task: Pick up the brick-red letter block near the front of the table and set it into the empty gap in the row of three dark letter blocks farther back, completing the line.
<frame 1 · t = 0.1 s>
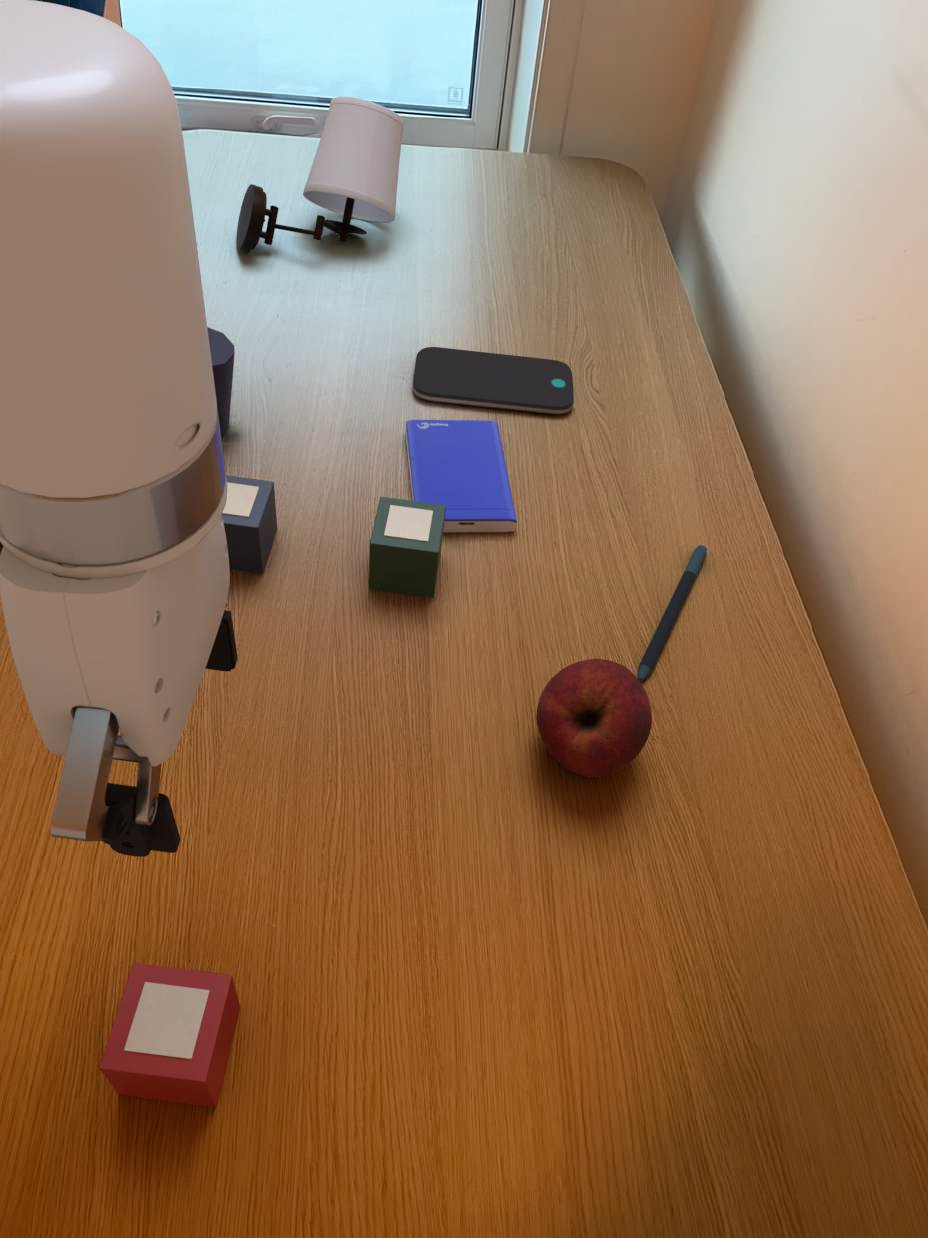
hand: (176, 746, 43), 15 cm above the table, tool pointing down, fingers open, 9 cm apart
speaker: (198, 423, 81), on the table
smartphone: (493, 385, 89), on the table
slate block: (238, 546, 72), on the table
apple: (581, 748, 64), on the table
walnut block: (154, 535, 72), on the table
green block: (405, 569, 72), on the table
light fixture: (321, 230, 104), on the table
pen: (671, 616, 73), on the table
hard drive: (457, 482, 80), on the table
red block: (181, 1049, 49), on the table
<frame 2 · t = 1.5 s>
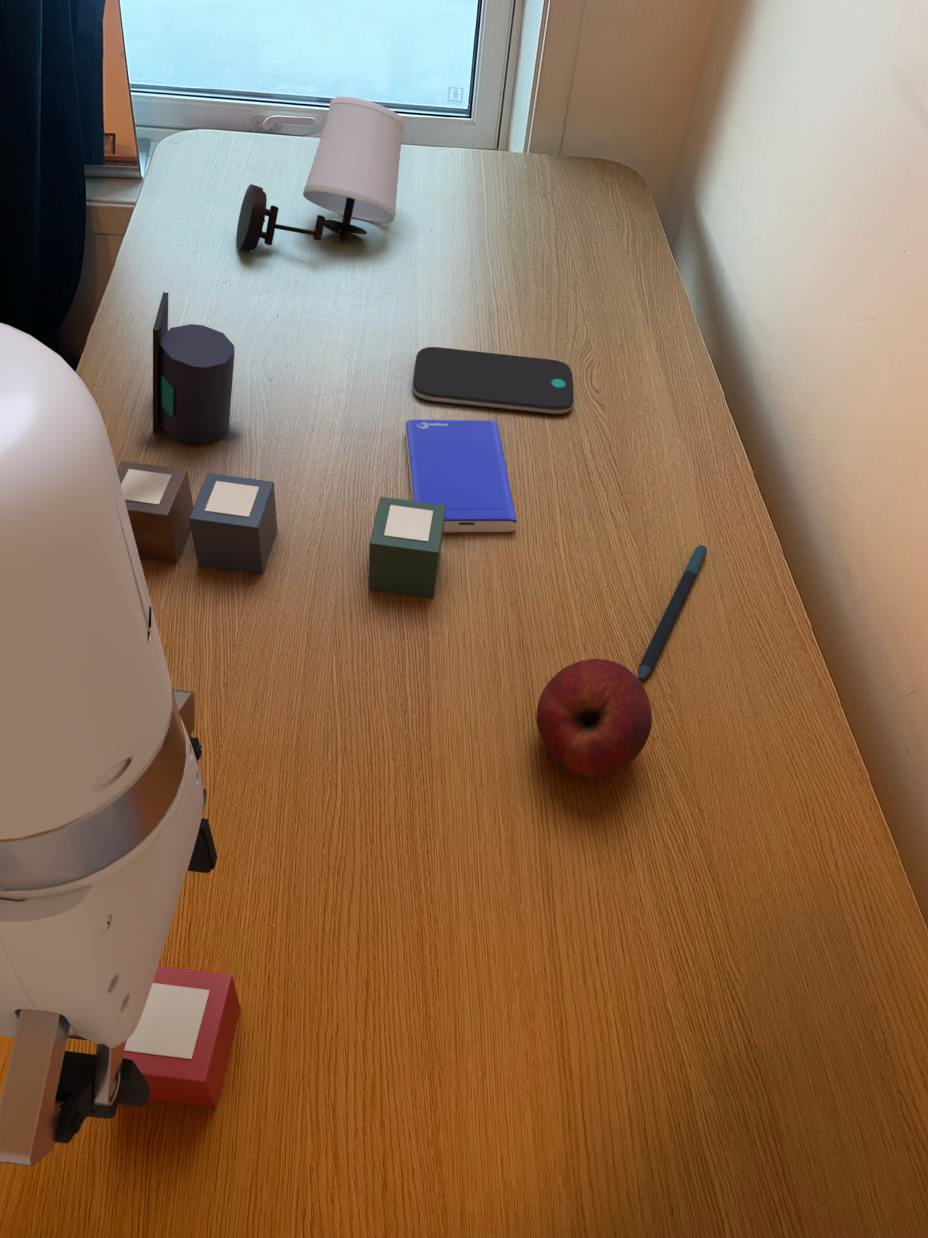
hand: (148, 969, 39), 13 cm above the table, tool pointing down, fingers open, 9 cm apart
nothing on the table moved.
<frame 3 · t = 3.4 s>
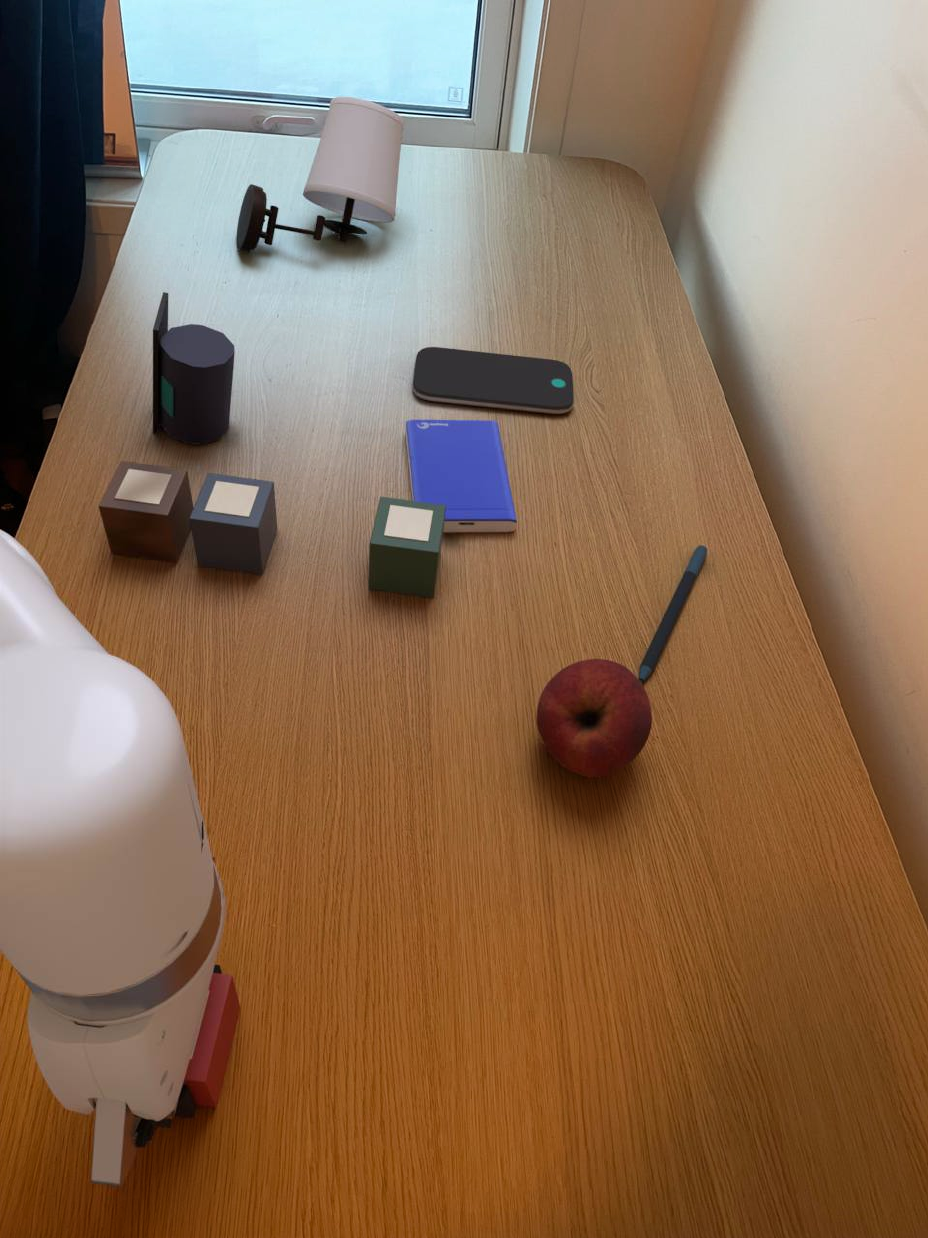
hand: (180, 1047, 49), 0 cm above the table, tool pointing down, fingers closed on red block, 5 cm apart
red block: (181, 1049, 49), on the table, touching gripper
everything else where it was.
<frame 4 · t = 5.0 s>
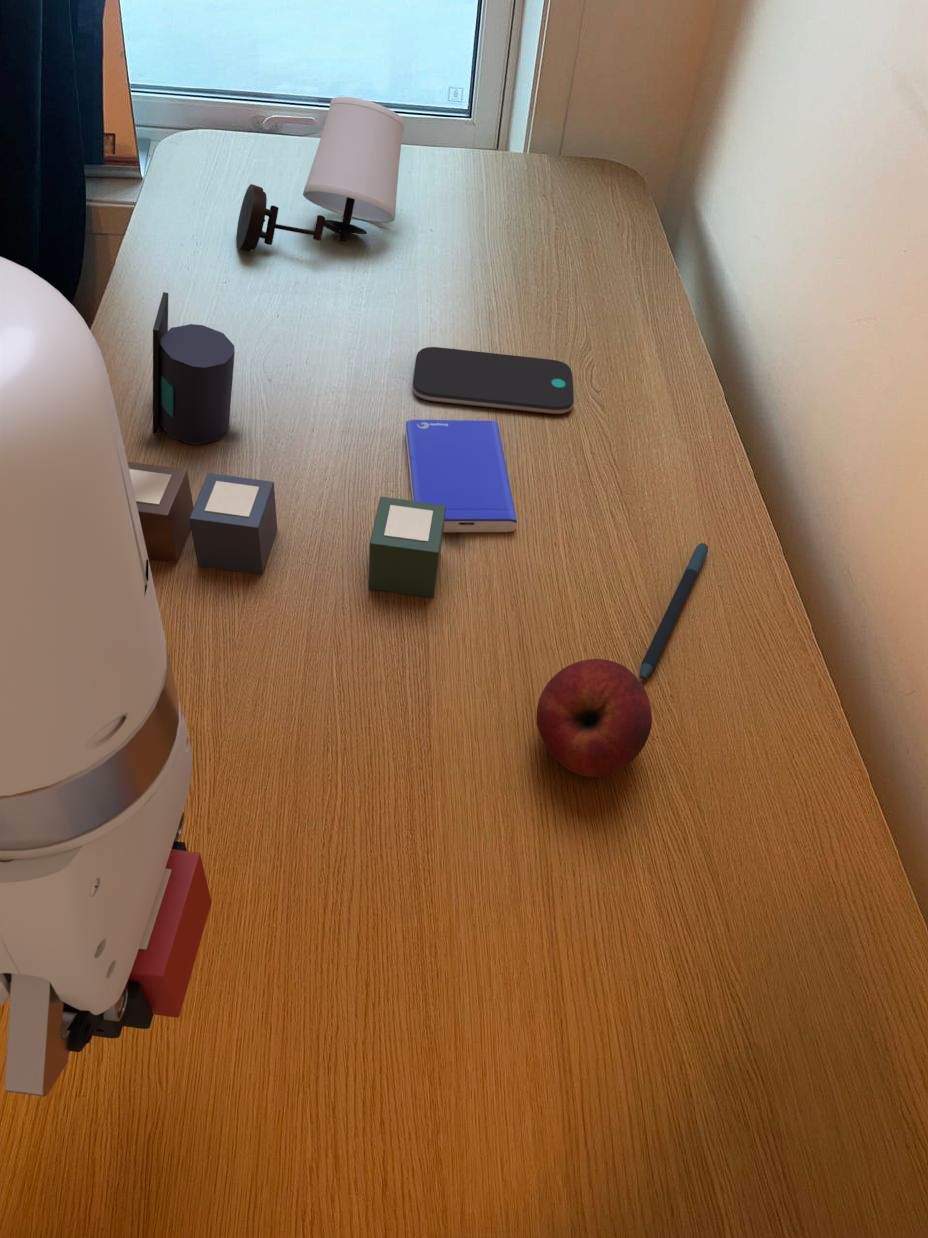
hand: (135, 945, 40), 13 cm above the table, tool pointing down, fingers closed on red block, 5 cm apart
red block: (137, 949, 40), point 13 cm above the table, touching gripper
everything else where it was.
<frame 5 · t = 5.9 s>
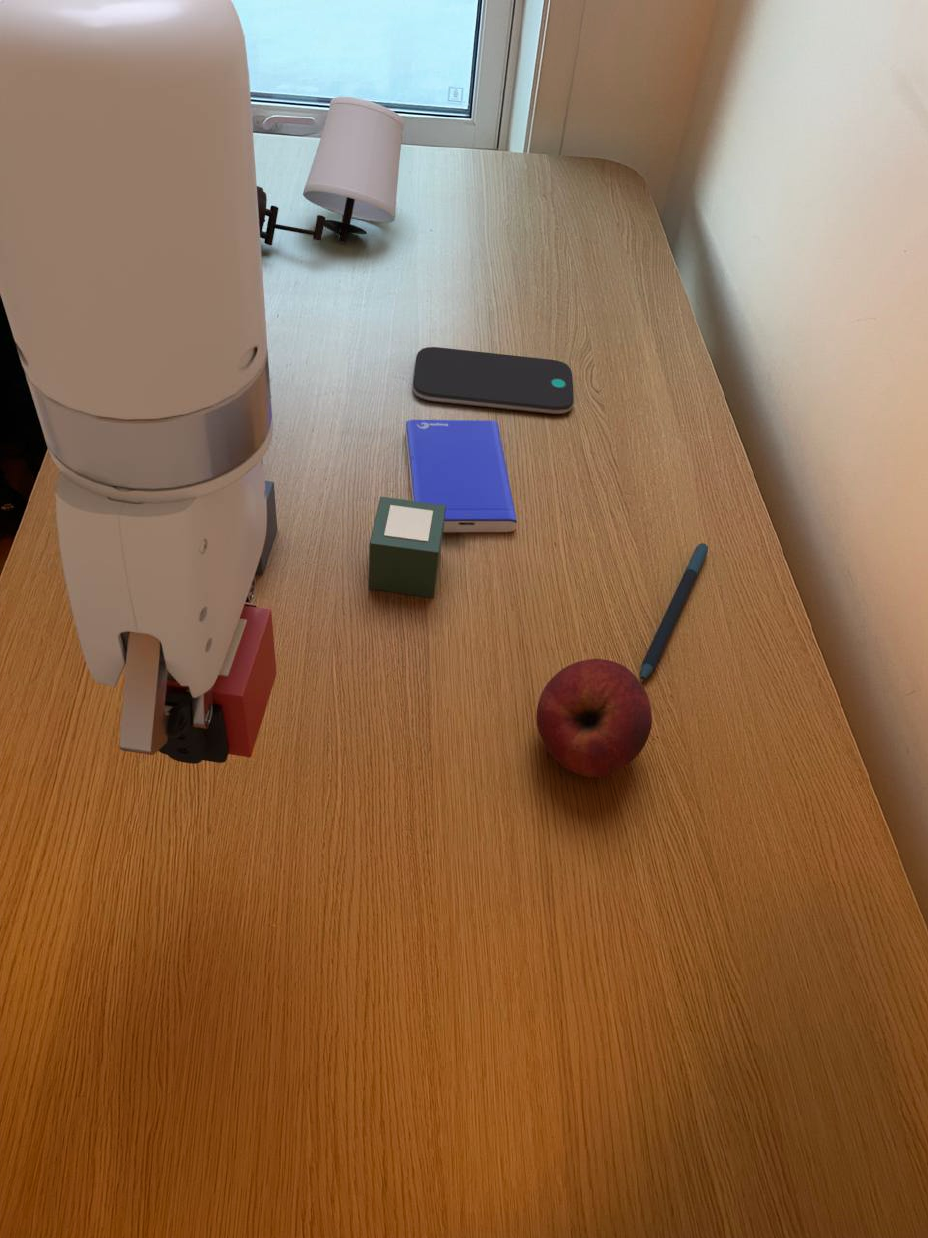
hand: (212, 700, 45), 15 cm above the table, tool pointing down, fingers closed on red block, 5 cm apart
red block: (213, 706, 45), point 15 cm above the table, touching gripper
everything else where it was.
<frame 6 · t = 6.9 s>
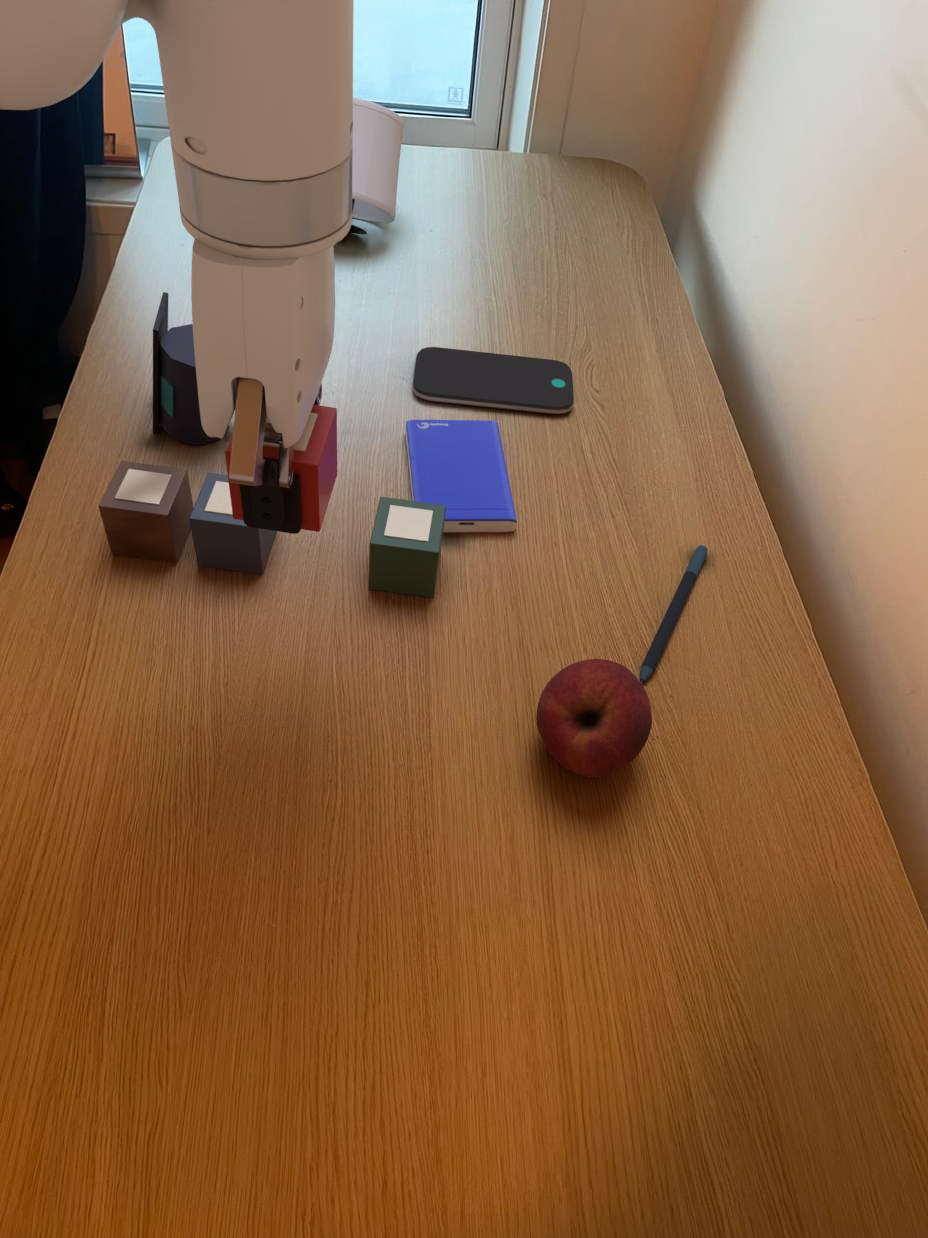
hand: (285, 490, 55), 15 cm above the table, tool pointing down, fingers closed on red block, 5 cm apart
red block: (286, 496, 55), point 15 cm above the table, touching gripper
everything else where it was.
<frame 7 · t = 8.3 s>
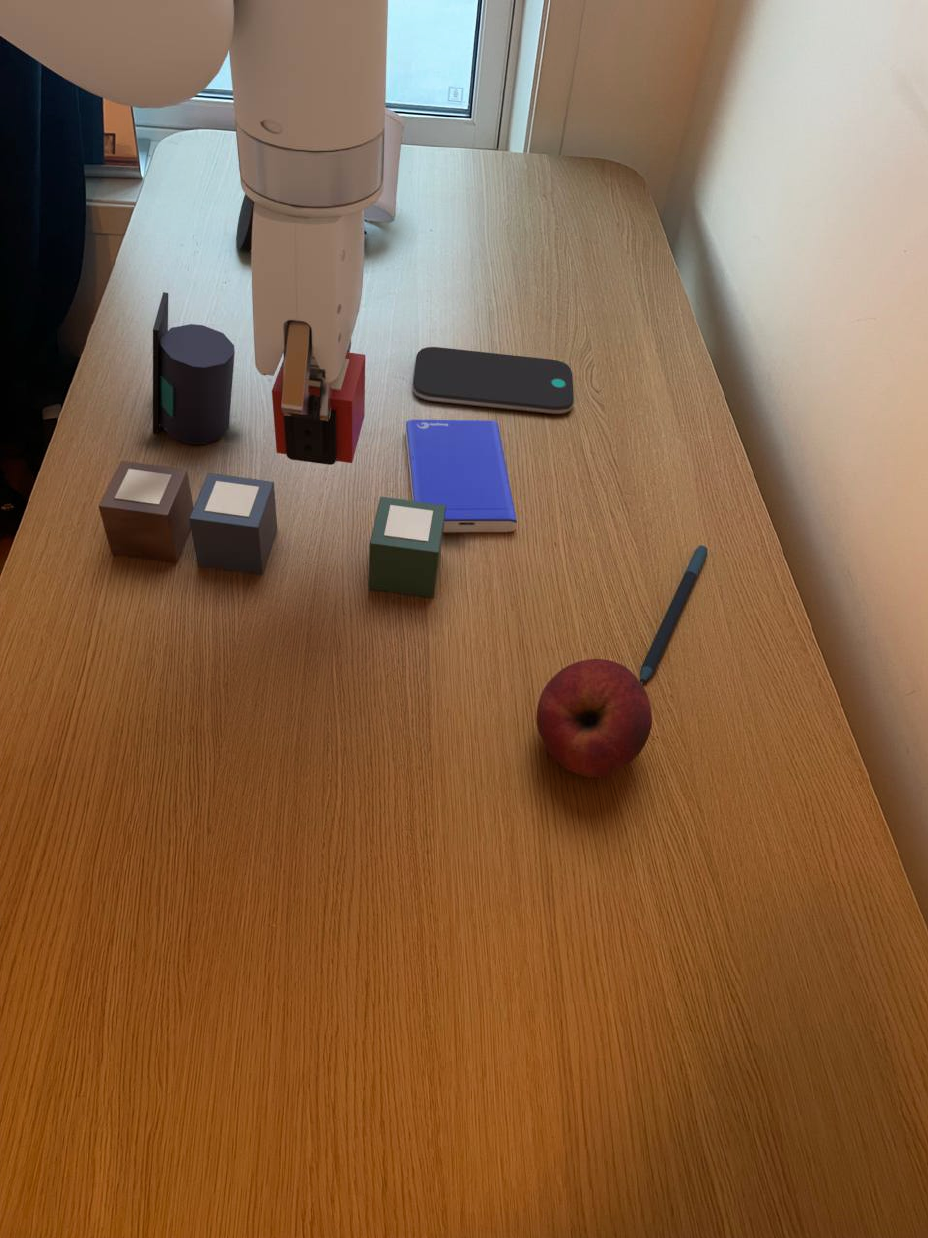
hand: (320, 429, 63), 13 cm above the table, tool pointing down, fingers closed on red block, 5 cm apart
red block: (321, 434, 63), point 12 cm above the table, touching gripper
everything else where it was.
when the fingers open (0 cm above the table, at t = 11.4 s): red block stays where it is, on the table.
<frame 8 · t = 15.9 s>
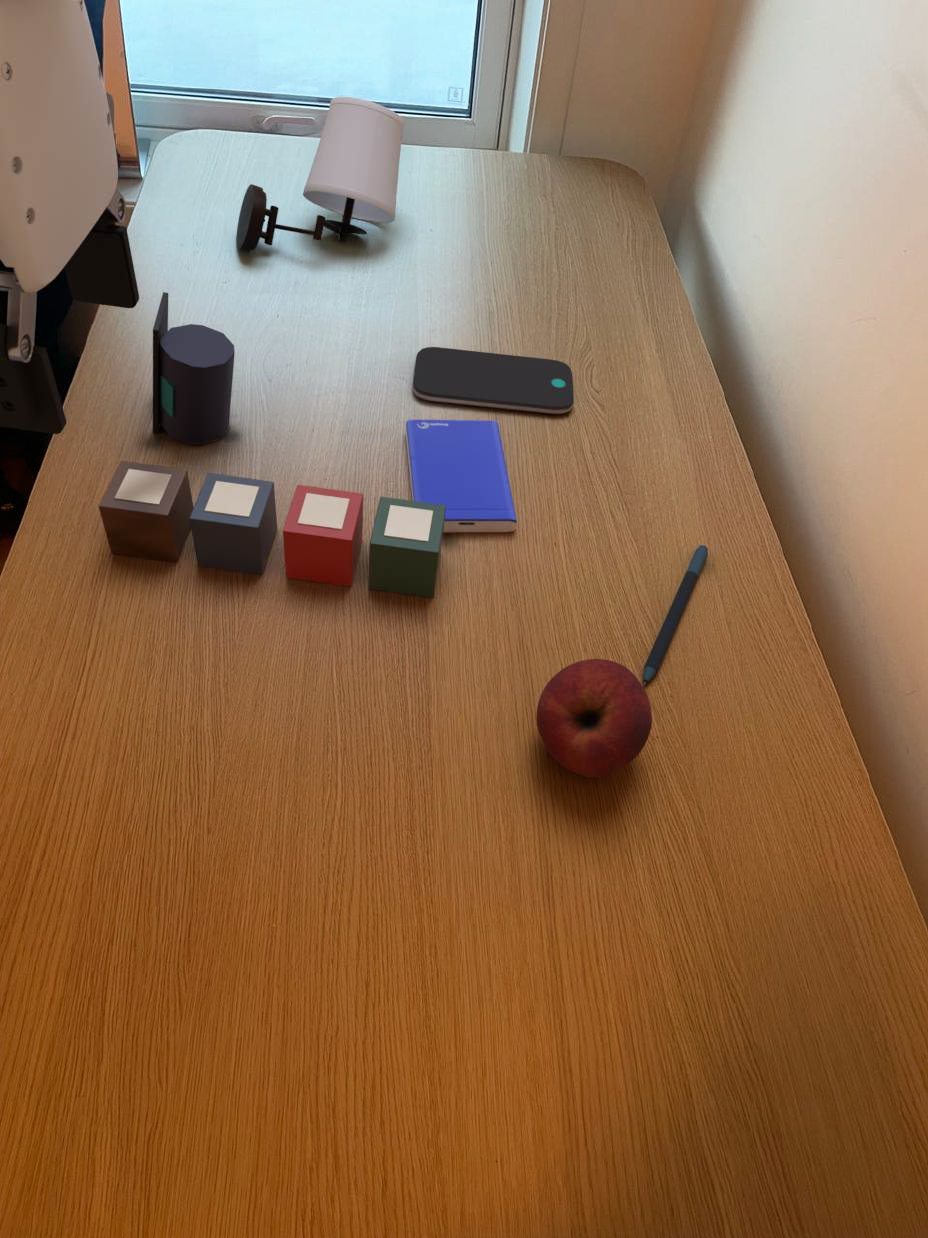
hand: (70, 359, 43), 26 cm above the table, tool pointing down, fingers open, 9 cm apart
red block: (325, 558, 72), on the table
everything else where it was.
at the end: red block 0.2 cm from the target spot on the table beside the slate block, on the table; red block tilted 0°; green block moved 0.0 cm from its start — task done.
